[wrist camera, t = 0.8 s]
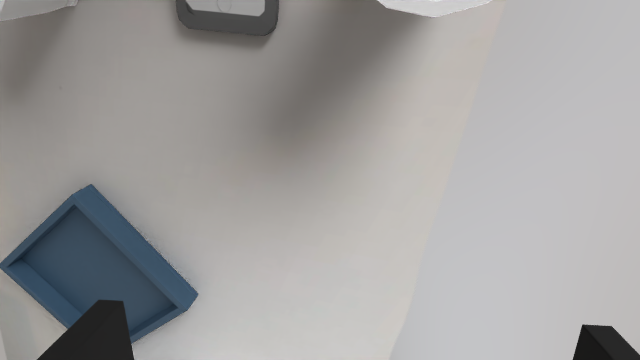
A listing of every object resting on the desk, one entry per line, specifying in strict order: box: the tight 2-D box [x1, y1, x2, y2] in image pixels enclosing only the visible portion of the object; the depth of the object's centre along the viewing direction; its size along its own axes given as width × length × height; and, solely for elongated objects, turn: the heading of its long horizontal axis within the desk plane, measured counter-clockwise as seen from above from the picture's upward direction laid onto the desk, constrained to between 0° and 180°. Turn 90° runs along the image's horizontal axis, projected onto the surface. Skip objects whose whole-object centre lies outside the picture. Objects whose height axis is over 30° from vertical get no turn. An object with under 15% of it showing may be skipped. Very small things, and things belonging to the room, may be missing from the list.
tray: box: [0, 184, 198, 344], centre depth 43 cm, size 17×17×3 cm
